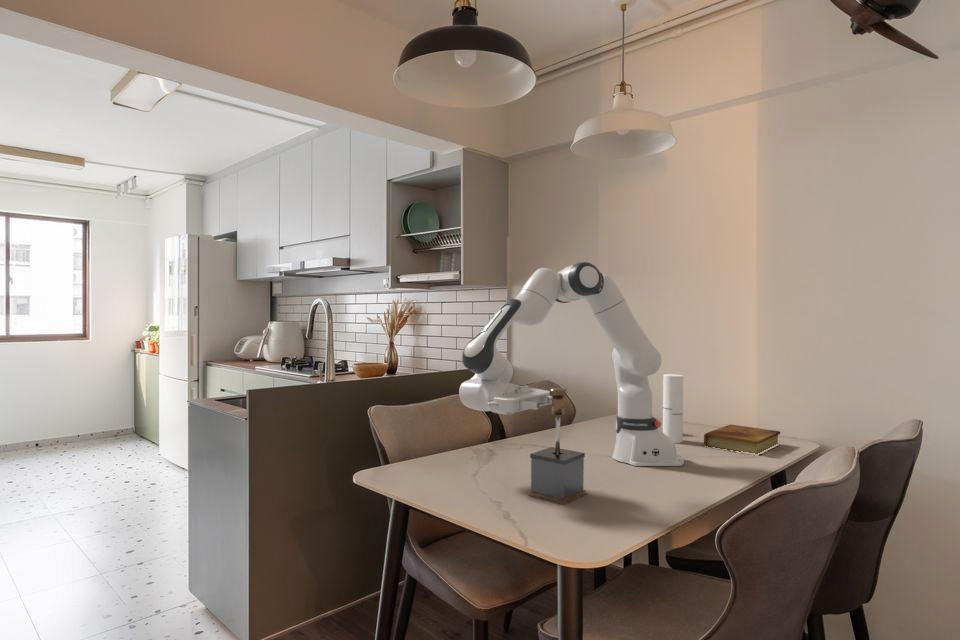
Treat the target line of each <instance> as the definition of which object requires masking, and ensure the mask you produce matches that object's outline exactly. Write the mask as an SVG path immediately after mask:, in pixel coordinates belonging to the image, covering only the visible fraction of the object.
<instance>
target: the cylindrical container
mask: <svg viewBox="0 0 960 640" xmlns="http://www.w3.org/2000/svg"><path fill="white" fill-rule="evenodd" d="M662 380H663V385H662V391H663V392H662V432H663V433H664V434H665V435H666V436H668V437H669V438H670V439H671V440H672V441H673V442H674V444H682V443H683V433H684V430H683V427H684V426H683V425H684V423H683V421H684V375H683V374H678V373H677V374H676V373H675V374H674V373H673V374H672V373H665V374H663V377H662ZM681 442H682V443H681Z"/></svg>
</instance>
